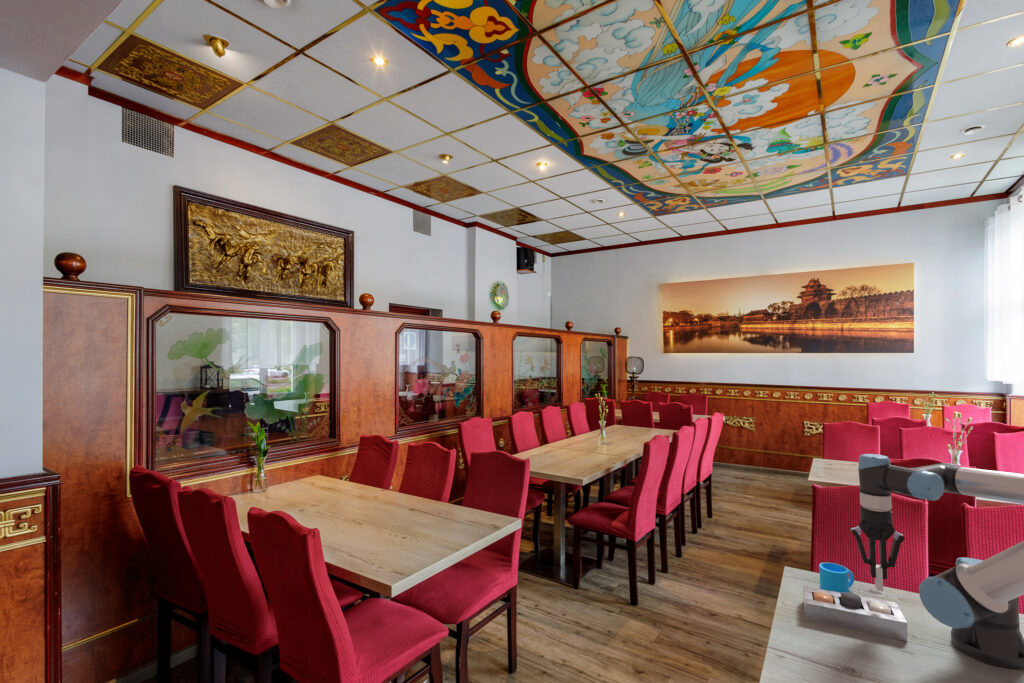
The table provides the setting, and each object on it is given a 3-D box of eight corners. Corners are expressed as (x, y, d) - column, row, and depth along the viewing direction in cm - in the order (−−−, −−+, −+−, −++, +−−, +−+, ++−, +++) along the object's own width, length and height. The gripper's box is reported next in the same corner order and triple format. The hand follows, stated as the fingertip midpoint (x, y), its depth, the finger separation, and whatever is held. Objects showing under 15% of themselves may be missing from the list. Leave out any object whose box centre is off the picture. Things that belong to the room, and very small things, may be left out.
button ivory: (889, 618, 141) (888, 604, 141) (893, 627, 137) (892, 612, 137) (868, 614, 144) (867, 600, 144) (871, 622, 139) (871, 608, 139)
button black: (860, 607, 145) (859, 594, 145) (862, 615, 140) (862, 601, 140) (840, 604, 147) (839, 590, 147) (842, 611, 142) (841, 598, 143)
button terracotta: (832, 607, 148) (832, 594, 148) (834, 615, 143) (834, 601, 144) (813, 603, 150) (813, 590, 150) (814, 611, 146) (814, 598, 146)
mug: (835, 599, 155) (834, 574, 156) (814, 588, 163) (813, 563, 164) (865, 595, 158) (864, 570, 158) (842, 584, 166) (842, 560, 166)
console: (897, 619, 143) (896, 602, 143) (907, 641, 132) (906, 622, 133) (803, 601, 154) (803, 586, 154) (806, 620, 144) (805, 603, 144)
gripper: (900, 507, 142) (904, 588, 141) (847, 501, 148) (850, 579, 147) (907, 514, 135) (910, 599, 134) (851, 508, 141) (854, 589, 140)
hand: (879, 588), depth 141 cm, fingers closed
